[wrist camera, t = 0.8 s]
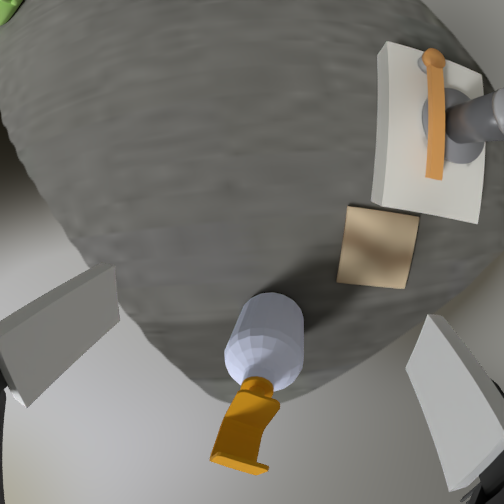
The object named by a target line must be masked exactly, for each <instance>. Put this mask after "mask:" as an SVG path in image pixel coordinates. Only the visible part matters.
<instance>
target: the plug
mask: <svg viewBox="0 0 504 504" xmlns="http://www.w3.org/2000/svg"><path fill="white" fill-rule="evenodd" d="M444 92H445V150H444V159H445V160H447V161H449V162H451V163H455V164H467V163H470V162H472V161H474V160H475V159H477V158H478V156H479V155H480V154H481V152H482V150H483V147H484V143H485V142H488V141H503V140H504V88H501V89H498V90H497V91H495V92H492V93H489V94H486V95H483V96H480V97H477V98H474V99H470V98H469V97H468V96H466V95H465V94H464V93H462V92H460V91H458V90H456V89H453V88H444ZM422 125H423V129H424V133H425V135H426V138H427V140H428V98H427V99H426V101H425V103H424V105H423V109H422Z"/></svg>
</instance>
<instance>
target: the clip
mask: <svg viewBox="0 0 504 504" xmlns="http://www.w3.org/2000/svg"><path fill="white" fill-rule="evenodd" d="M422 61H423V63H424V65H425V66H426V68H427V84H428V146H427V162H426V174H425V177H426V178H431V179H435V180H441V181H442V178H443V166H444V150H445V92H444V77H443V68H444V67H445V64H446V61H445V58H444V56H443V55H442V53H441V52H440V51H438V50H437V49H434V48H429V49H427V50H426V51H425V52H424V53H423V54H422Z"/></svg>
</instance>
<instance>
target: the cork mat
mask: <svg viewBox="0 0 504 504" xmlns="http://www.w3.org/2000/svg"><path fill="white" fill-rule="evenodd" d="M418 223H419V217H417V216H411V215H405V214H399V213H393V212H387V211H380V210H373V209H366V208H359V207H352V206H347V212H346V220H345V228H344V235H343V242H342V249H341V255H340V261H339V267H338V273H337V279H336V282H337V283H347V284H357V285H367V286H377V287H388V288H399V289H405V285H406V281H407V277H408V273H409V269H410V264H411V260H412V255H413V250H414V245H415V240H416V235H417V229H418Z"/></svg>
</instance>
